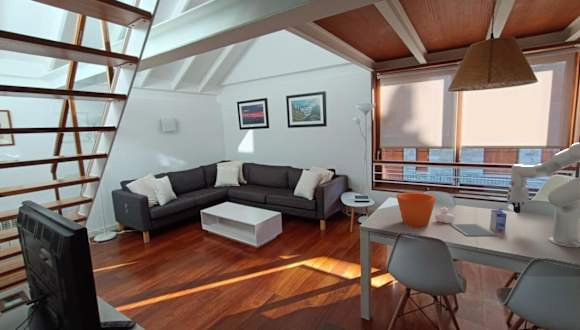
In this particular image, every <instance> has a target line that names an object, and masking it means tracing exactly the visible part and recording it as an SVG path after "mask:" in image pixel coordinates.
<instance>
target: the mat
mask: <svg viewBox="0 0 580 330" xmlns="http://www.w3.org/2000/svg"><path fill="white" fill-rule="evenodd" d="M450 225H451V226H450ZM449 226H450V227H452V226H453V227H454V228H453V227H452V228H453V229H455V230H456V229H457V230H456V231H458V232H459V231H460V232H459V233H461V234H463V235H464V236H465V237H498V234H497V233H495V232H492V231H491V230H489V229H487V228H486V227H484V226H482V225H480V224H478V223H470V224H469V223H461V224H458V223H457V224H456V223H454V224H453V223H449Z"/></svg>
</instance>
